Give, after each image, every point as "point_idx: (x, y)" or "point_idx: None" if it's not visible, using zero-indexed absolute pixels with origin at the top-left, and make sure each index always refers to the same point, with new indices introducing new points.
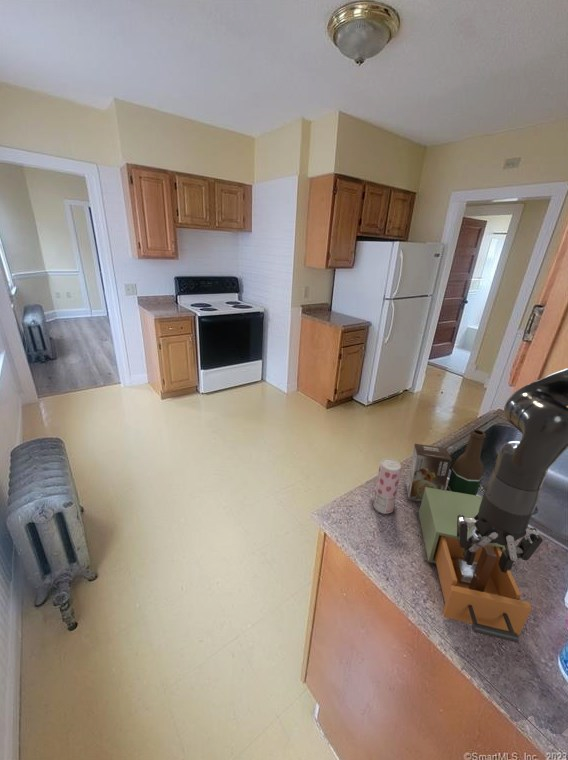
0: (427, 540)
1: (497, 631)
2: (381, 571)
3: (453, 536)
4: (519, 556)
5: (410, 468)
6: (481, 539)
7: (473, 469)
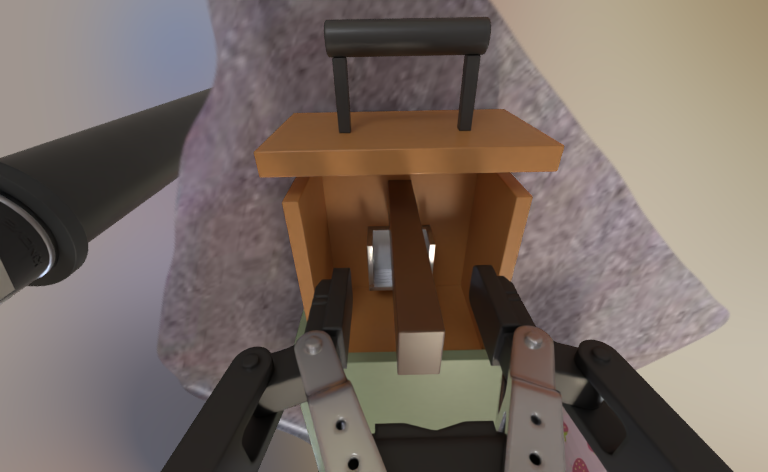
0: None
1: (403, 32)
2: (627, 208)
3: (461, 355)
4: (280, 361)
5: None
6: (563, 446)
7: None
